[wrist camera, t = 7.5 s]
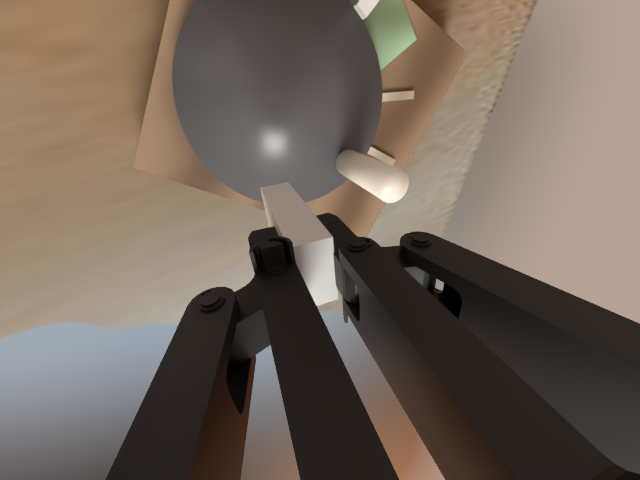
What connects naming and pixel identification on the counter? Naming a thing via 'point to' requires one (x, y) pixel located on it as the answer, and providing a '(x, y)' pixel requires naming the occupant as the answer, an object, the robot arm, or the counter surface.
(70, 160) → the counter surface
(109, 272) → the counter surface
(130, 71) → the counter surface
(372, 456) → the robot arm
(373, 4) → the gray pegged oval disc
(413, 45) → the board
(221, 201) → the counter surface
